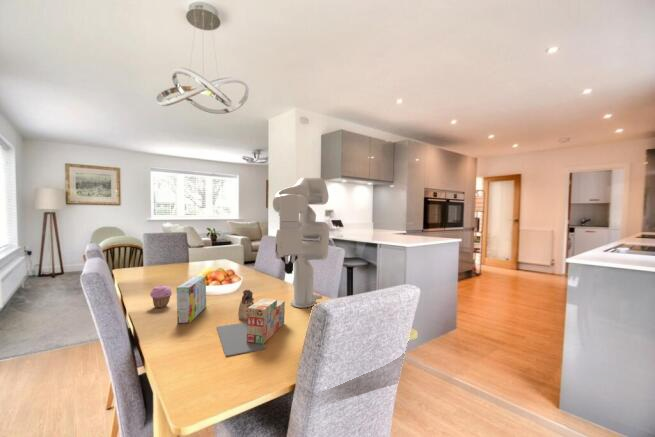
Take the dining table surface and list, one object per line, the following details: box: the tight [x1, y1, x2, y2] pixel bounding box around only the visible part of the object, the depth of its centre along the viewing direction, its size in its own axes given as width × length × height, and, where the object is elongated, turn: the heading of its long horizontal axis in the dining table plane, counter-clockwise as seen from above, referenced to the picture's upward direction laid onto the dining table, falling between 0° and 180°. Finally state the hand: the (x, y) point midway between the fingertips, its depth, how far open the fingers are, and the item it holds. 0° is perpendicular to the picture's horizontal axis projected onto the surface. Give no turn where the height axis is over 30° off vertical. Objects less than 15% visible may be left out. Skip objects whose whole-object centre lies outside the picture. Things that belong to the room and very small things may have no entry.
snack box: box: [176, 275, 207, 324], centre depth 132 cm, size 21×6×15 cm, turn 5°
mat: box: [216, 321, 266, 358], centre depth 109 cm, size 13×26×1 cm, turn 26°
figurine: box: [238, 289, 255, 321], centre depth 130 cm, size 7×7×12 cm
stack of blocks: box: [246, 297, 286, 345], centre depth 114 cm, size 21×6×12 cm, turn 168°
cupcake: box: [149, 285, 172, 309], centre depth 143 cm, size 9×9×10 cm
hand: (288, 273), depth 117 cm, fingers closed
